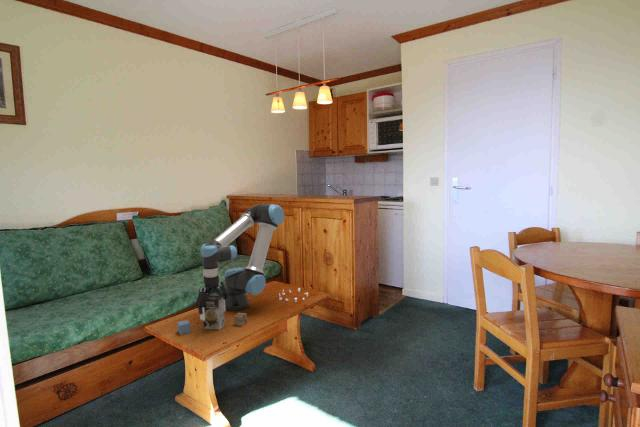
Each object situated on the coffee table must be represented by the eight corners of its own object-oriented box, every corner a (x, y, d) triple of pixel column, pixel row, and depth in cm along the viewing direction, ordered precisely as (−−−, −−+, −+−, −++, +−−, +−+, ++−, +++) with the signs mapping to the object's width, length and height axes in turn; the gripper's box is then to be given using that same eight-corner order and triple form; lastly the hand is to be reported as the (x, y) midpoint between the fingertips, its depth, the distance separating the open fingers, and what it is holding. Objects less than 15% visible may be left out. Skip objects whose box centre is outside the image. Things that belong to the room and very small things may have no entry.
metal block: (239, 321, 201) (238, 312, 201) (247, 322, 200) (246, 313, 199) (234, 325, 197) (233, 316, 196) (242, 326, 195) (241, 317, 194)
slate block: (187, 329, 194) (186, 319, 193) (190, 332, 190) (189, 322, 189) (177, 331, 191) (177, 322, 190) (180, 335, 187) (179, 325, 186)
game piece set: (292, 290, 251) (292, 284, 251) (314, 296, 239) (314, 290, 238) (271, 298, 236) (271, 292, 236) (294, 305, 224) (294, 299, 223)
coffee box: (203, 329, 193) (201, 299, 191) (209, 324, 199) (207, 295, 197) (220, 330, 191) (218, 299, 189) (225, 324, 197) (223, 295, 195)
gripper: (224, 269, 204) (226, 306, 206) (185, 280, 183) (188, 322, 186) (234, 271, 200) (236, 309, 202) (195, 282, 179) (198, 325, 181)
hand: (213, 315), depth 194 cm, fingers open, 13 cm apart
